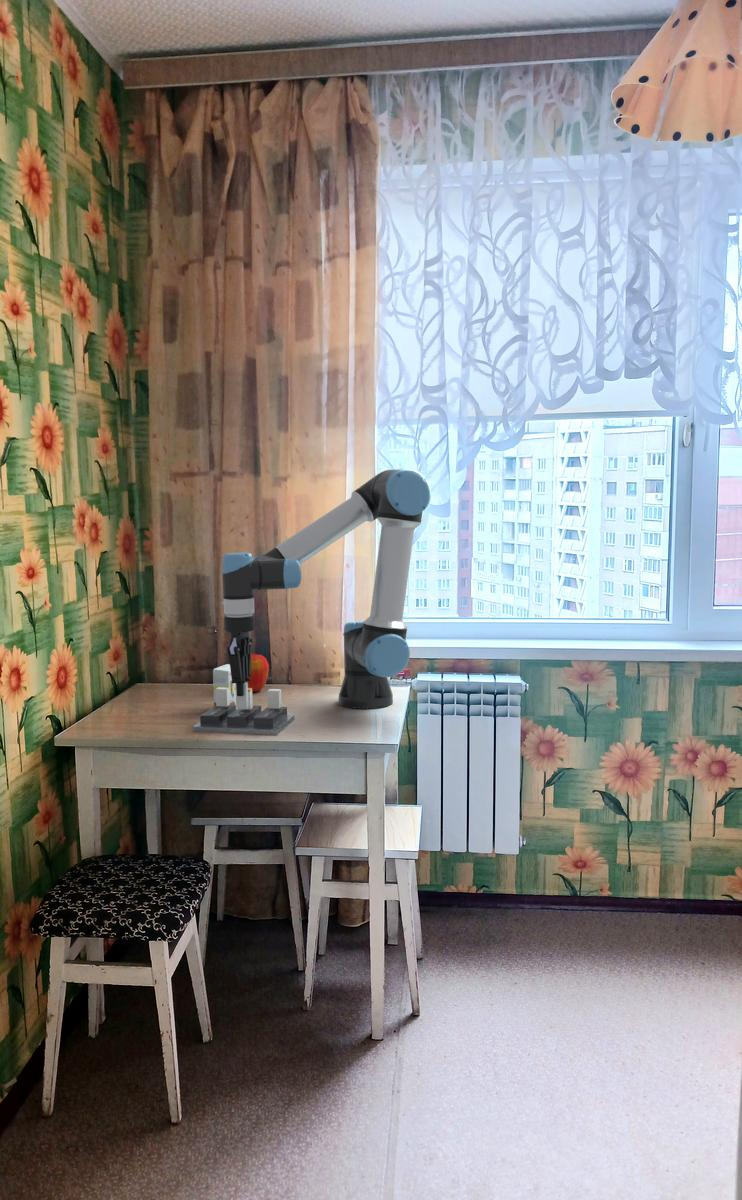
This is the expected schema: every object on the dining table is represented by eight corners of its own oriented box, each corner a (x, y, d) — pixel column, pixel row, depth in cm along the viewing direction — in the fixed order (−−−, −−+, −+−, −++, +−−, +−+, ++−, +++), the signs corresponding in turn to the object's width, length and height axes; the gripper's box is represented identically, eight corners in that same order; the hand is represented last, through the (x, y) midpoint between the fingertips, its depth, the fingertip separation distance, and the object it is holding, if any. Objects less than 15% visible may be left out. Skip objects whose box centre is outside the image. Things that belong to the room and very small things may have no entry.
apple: (233, 694, 268) (232, 653, 266) (243, 687, 276) (242, 648, 275) (264, 695, 266) (263, 654, 264) (273, 688, 275) (272, 649, 273)
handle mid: (252, 707, 234) (252, 688, 233) (250, 709, 232) (249, 689, 231) (241, 707, 234) (241, 687, 234) (238, 709, 233) (238, 689, 232)
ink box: (229, 714, 244) (228, 670, 243) (213, 712, 246) (211, 669, 244) (244, 706, 252) (242, 664, 251) (228, 705, 254) (226, 663, 253)
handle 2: (281, 706, 235) (281, 689, 234) (279, 708, 233) (278, 691, 232) (270, 706, 235) (269, 688, 235) (268, 707, 233) (267, 690, 233)
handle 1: (229, 704, 237) (229, 687, 237) (227, 706, 236) (226, 689, 235) (219, 704, 238) (218, 687, 238) (216, 706, 236) (215, 688, 236)
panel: (294, 719, 238) (294, 705, 237) (277, 734, 223) (276, 719, 223) (214, 716, 242) (214, 702, 242) (192, 731, 227) (192, 716, 227)
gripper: (233, 611, 234) (236, 701, 237) (215, 618, 221) (219, 713, 224) (261, 611, 233) (264, 702, 236) (245, 619, 220) (248, 714, 223)
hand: (242, 707), depth 230 cm, fingers closed
